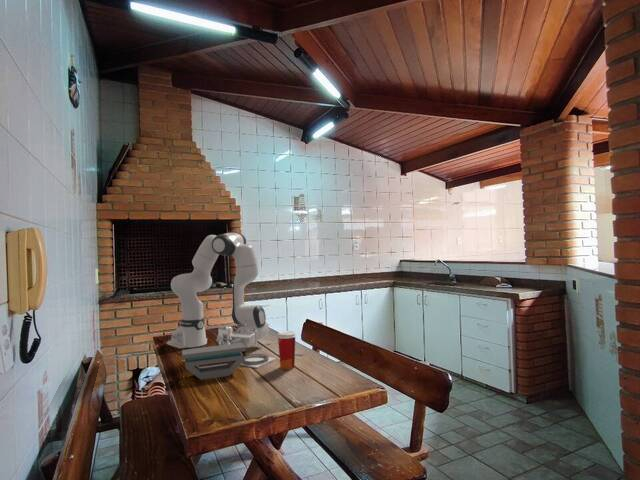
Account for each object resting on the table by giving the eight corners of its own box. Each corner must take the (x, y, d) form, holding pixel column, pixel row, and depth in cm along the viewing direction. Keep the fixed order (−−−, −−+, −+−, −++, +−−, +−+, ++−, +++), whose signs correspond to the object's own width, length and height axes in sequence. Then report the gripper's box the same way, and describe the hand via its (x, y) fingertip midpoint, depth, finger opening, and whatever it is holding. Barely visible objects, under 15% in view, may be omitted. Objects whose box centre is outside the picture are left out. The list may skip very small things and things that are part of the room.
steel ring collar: (235, 362, 172) (235, 359, 172) (253, 355, 183) (253, 352, 183) (256, 366, 166) (256, 363, 166) (273, 358, 177) (273, 356, 177)
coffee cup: (288, 363, 171) (287, 329, 172) (300, 367, 166) (299, 332, 166) (273, 367, 166) (273, 333, 166) (285, 372, 160) (285, 336, 160)
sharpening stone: (183, 382, 150) (182, 355, 150) (182, 376, 158) (181, 350, 158) (246, 373, 160) (245, 347, 160) (242, 367, 167) (242, 342, 167)
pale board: (233, 364, 172) (233, 362, 172) (253, 355, 184) (253, 354, 184) (257, 368, 165) (257, 367, 165) (276, 359, 177) (276, 358, 177)
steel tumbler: (230, 361, 176) (229, 329, 176) (216, 361, 177) (215, 328, 177) (236, 357, 182) (235, 325, 182) (222, 356, 184) (222, 325, 184)
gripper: (229, 326, 196) (208, 332, 184) (260, 330, 186) (240, 337, 174) (229, 339, 196) (208, 345, 184) (260, 343, 186) (240, 350, 174)
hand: (224, 341), depth 179 cm, fingers open, 8 cm apart
